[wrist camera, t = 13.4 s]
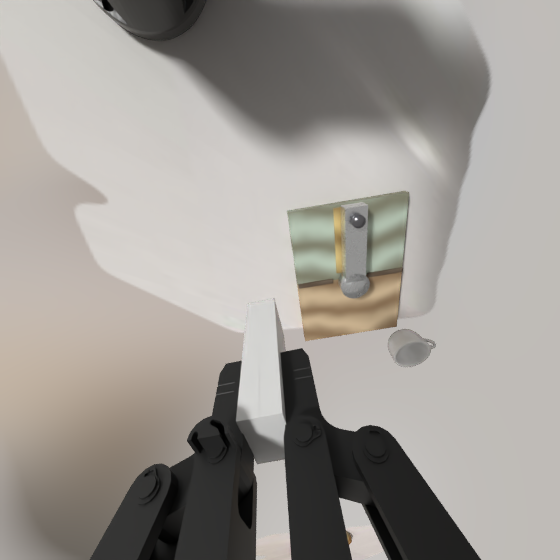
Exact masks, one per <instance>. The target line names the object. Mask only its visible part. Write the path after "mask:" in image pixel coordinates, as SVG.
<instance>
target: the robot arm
mask: <svg viewBox="0 0 560 560" xmlns="http://www.w3.org/2000/svg"><path fill="white" fill-rule="evenodd" d="M93 1H94V2H95V3H96V4H97V5H98V6H99V7H100V8H101V9H102V10H103V11H104V12H105V13H106V14H107V15H108V16H109V17H110V18H112V19H113V20H114V21H115V22H116V23H117V24H119V25H120V26H121V27H123V28H124V29H126V30H127V31H129V32H131V33H133V34H135V35H137V36H139V37H142V38H145V39H150V40H167V39H171V38H174V37H177V36H179V35H181V34H182V33H184V32H185V31H186V30H188V29H189V28H190V27H191V26H192V25H193V24H194V22H195V21H196V20H197V18H198V17H199V15H200V13H201V11H202V9H203V7H204V4H205V2H206V0H93ZM187 442H188V443H189V444H190V446H191V447H192V449H193V450H194V451H195V453H194V454H193V455H192V456H190V457H189V458H187V459H185V460H183V461H181V462H180V463H178V464H176V465H174V466H172V467H170V468H169V467H168V466H166V465H164V464H154V465H152V466H151V467H149V468H147V469H145V470H144V471H143V472H142V473H141V474H140V475H139V476H138V477H137V478H136V480H135V481H134V483H133V484H132V485H131V487H130V489H129V491H128V492H127V494H126V496H125V498H124V500H123V501H122V503H121V505H120V507H119V509H118V510H117V512H116V514H115V516H114V518H113V519H112V521H111V523H110V525H109V526H108V528H107V530H106V532H105V534H104V535H103V537H102V539H101V541H100V542H99V544H98V546H97V548H96V550H95V551H94V553H93V555H92V557H91V559H90V560H256V508H257V482H256V476H255V474H254V472H253V470H254V459H255V461H256V463H257V464H260V463H266V462H271V461H278V460H283V459H285V467H286V482H287V498H288V512H289V529H290V544H291V559H292V560H352V557H351V553H350V548H349V543H348V539H347V534H346V529H345V525H344V520H343V515H342V510H341V506H340V501H339V498H343V499H347V500H351V501H354V502H358V503H361V504H362V505H363V507H364V510H365V512H366V514H367V516H368V518H369V520H370V522H371V524H372V526H373V528H374V530H375V533H376V535H377V537H378V539H379V541H380V543H381V545H382V547H383V549H384V551H385V554H386V556H387V558H388V560H481V559H480V558H479V556H478V555H477V553H476V552H475V550H474V549H473V548H472V546H471V545H470V543H468V541H467V539H466V538H465V536H464V535H463V534H462V532H461V531H460V529H459V528H458V527H457V525H456V524H455V522H454V521H453V519H452V518H451V517H450V515H449V514H448V512H447V511H446V510H445V508H444V507H443V505H442V504H441V503H440V501H439V500H438V499H437V497H436V496H435V494H434V493H433V491H432V490H431V489H430V487H429V486H428V484H427V483H426V481H425V480H424V479H423V477H422V476H421V474H420V473H419V472H418V470H417V469H416V467H415V466H414V465H413V463H412V462H411V460H410V459H409V458H408V456H407V455H406V454H405V452H404V451H403V449H402V448H401V446H400V445H399V443H398V442H397V441H396V439H395V438H394V437H393V436H392V435H391V434H390V433H389V432H388V431H386V430H384V429H383V428H381V427H378V426H372V425H369V426H364V427H361V428H360V429H359V430H358V431H356V432H354V431H348V430H342V429H339V428H336V427H334V426H332V425H330V424H329V423H328V422H327V421H326V420H325V419H324V417H323V416H322V414H321V411H320V408H319V403H318V398H317V394H316V389H315V385H314V380H313V375H312V370H311V366H310V361H309V357H308V355H307V354H306V353H305V351H304V350H303V349H302V348H301V349H297V350H291V351H285V341H284V334H283V330H282V326H281V322H280V319H279V315H278V311H277V307H276V303H275V299H274V298H273V299H268V300H263V301H258V302H253V303H248V305H247V315H246V325H245V335H244V345H243V355H242V361H239V362H233V363H228V364H226V365H225V367H224V368H223V370H222V371H221V373H220V376H219V382H218V387H217V392H216V398H215V402H214V408H213V413H212V416H210V417H207V418H205V419H203V420H202V421H200V422H199V423H198V424H196V426H195V427H194V428H193V430H192V431H191V433H190V434H189V437H188V439H187Z"/></svg>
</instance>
